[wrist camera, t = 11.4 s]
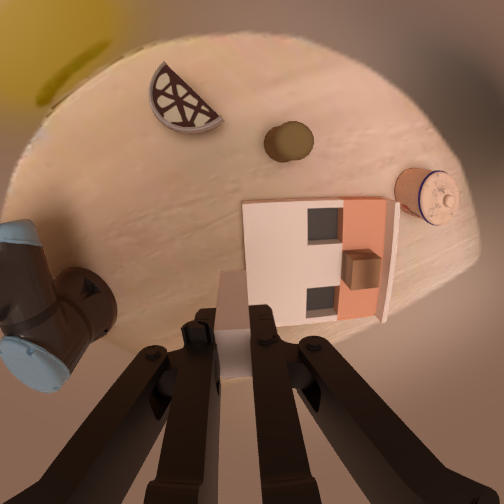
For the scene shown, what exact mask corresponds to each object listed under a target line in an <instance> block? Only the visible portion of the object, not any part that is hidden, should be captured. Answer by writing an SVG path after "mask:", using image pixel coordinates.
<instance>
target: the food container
mask: <svg viewBox="0 0 504 504" xmlns="http://www.w3.org/2000/svg"><path fill="white" fill-rule="evenodd" d="M149 101H150V105H151V108H152V110H153V112H154V114H155V116H156V117H157V119H158V120H159V121H160V122H161V123H162V124H163V125H165V126H166V127H168V128H169V129H171V130H174V131H177V132H181V133H189V134H193V133H201V132H205V131H208V130H211V129H213V128H215V127H217V126H218V125H220V124H221V123H223V122H224V120H223V118H222V117H221V116H218V115H217V113H216V112H215V111H213V110H212V109H211V108H210V107H209V106H208V105H207V104H206V103H205V102H204V101H203V100H202V99H201V98H200V96H198V95H197V94H196V93H195V92H194V91H193V90H192V88H190V87H189V86H188V85H187V84H186V83H185V82H184V81H183V80H182V79H181V78H180V77H179V76H178V75H177V74H176V73H175V72H173V71H172V70H171V69H170V67H169V66H168V65H167V64H166V63H165V61H163V62H162V63H161V65H160V66H159V67H158V68H157V70H156V71H155V73H154V75H153V77H152V79H151V82H150V86H149Z"/></svg>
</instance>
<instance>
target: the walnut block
mask: <svg viewBox="0 0 504 504" xmlns="http://www.w3.org/2000/svg"><path fill="white" fill-rule="evenodd" d="M381 262H382V258H381V257H379V256H378V255H377V254H376V253H374V252H373V251H372V250H370V249H357V250H343V251H342V269H341V279H342V280H343V281H344V283H345V284H346V285H347V286H348V288H349V289H350V290H351V291H352V290H361V289H369V288H378V287H379V280H380V271H381Z"/></svg>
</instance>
